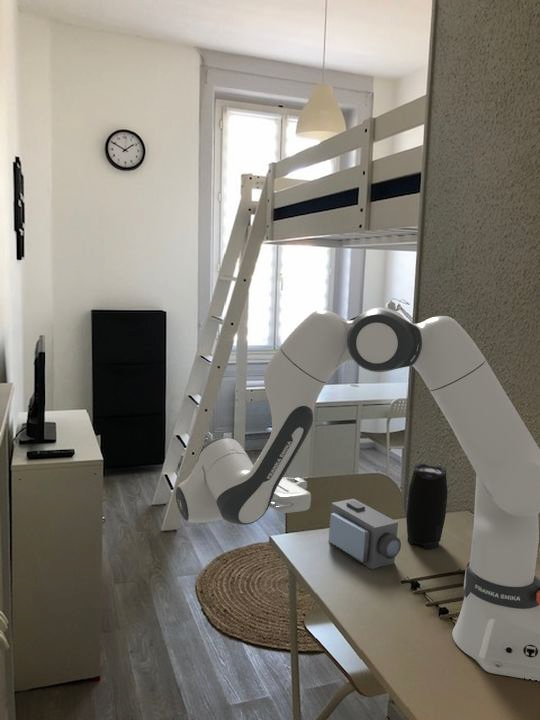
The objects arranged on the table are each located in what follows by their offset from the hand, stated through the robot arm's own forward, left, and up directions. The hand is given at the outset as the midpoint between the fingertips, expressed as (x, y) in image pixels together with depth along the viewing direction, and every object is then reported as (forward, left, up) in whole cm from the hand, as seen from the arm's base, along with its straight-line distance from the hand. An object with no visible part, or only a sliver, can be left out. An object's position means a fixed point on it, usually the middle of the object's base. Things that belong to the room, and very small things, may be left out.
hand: (303, 482), depth 136 cm
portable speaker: (-24, -26, -20) cm, 41 cm away
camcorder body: (-12, -12, -19) cm, 26 cm away
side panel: (-9, -9, -18) cm, 22 cm away
